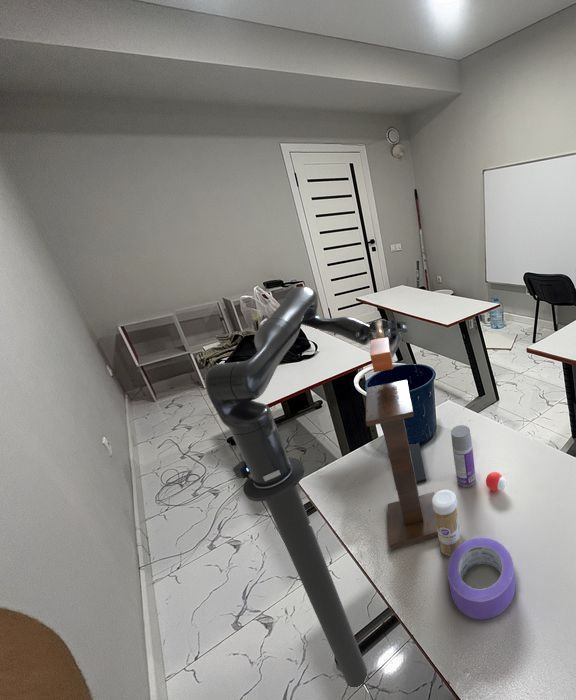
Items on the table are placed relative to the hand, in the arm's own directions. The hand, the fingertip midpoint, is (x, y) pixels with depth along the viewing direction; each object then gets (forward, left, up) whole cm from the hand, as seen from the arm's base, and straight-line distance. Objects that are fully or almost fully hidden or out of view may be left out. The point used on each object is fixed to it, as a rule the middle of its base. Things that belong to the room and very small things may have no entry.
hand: (378, 324), depth 82 cm
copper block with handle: (+3, -6, -3) cm, 7 cm away
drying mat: (+2, -2, -39) cm, 39 cm away
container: (+19, -5, -39) cm, 44 cm away
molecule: (+27, -6, -39) cm, 48 cm away
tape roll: (+29, -29, -39) cm, 57 cm away
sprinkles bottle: (+21, -23, -39) cm, 50 cm away
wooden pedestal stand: (+11, -19, -39) cm, 45 cm away
